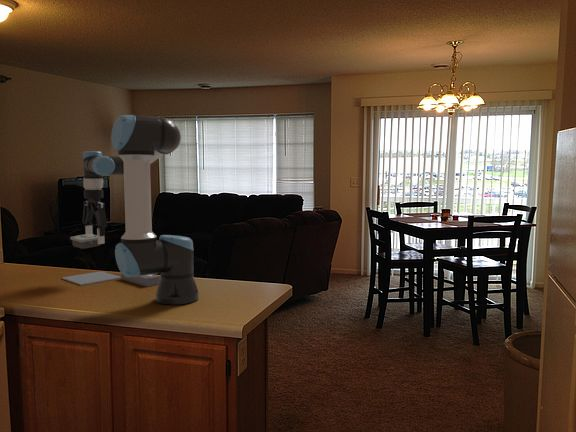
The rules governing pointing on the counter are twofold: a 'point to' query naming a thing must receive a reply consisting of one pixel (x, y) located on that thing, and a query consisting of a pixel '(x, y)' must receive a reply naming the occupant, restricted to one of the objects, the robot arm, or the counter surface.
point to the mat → (91, 278)
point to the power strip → (143, 280)
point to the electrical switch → (84, 241)
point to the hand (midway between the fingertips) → (95, 242)
